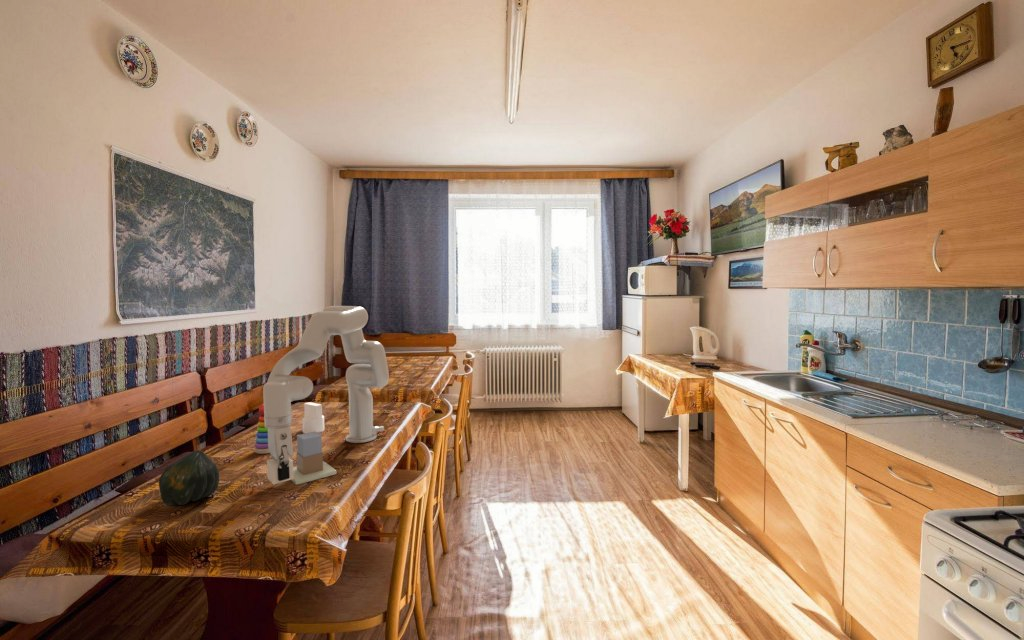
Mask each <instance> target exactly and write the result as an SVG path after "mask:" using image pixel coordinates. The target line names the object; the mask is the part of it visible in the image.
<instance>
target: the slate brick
mask: <svg viewBox="0 0 1024 640" xmlns="http://www.w3.org/2000/svg"><path fill="white" fill-rule="evenodd" d="M322 438H323V437H322V435H321V434H320V433H317V432H310V433H301V434H297V435H296V449H297V452H296V454H297V453H299V454H300V455H301V456H302V457H306V456H311V455H315V454H319V453H323V450H322V449H323V447H322V444H323V443H322V441H323V440H322Z"/></svg>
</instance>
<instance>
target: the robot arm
mask: <svg viewBox="0 0 1024 640" xmlns="http://www.w3.org/2000/svg"><path fill="white" fill-rule="evenodd" d="M368 320H369V314H368V311H367V309H365V308H364V307H362V306H357V305H330V306H326V307H324V309H323V310H322V311H316V312H314V313H313V314H312V315H311V317H310V319H309V320H308V322H307V324H306V327H305V330H304V331H303V334H302V336H301V338H300V340H299V342H298V344H297V346H295V347H294V348H293V349H291V350H290V351H288V352H287V353H286V354H285V355H283V356H282V357H281V358H280V359H279V360H278V361H277V362H276V363H275V364H274V366H273V368H272V370H271V372H270V374H269V377H268V379H267V381H266V383H264V385H263V387H262V393H263V394H262V395H263V397H262V398H263V404H264V421H265V428H268V449H269V452H270V453H269V454H270V455H271V456H270V459H274V458H276V459H278V466H279V468H278V480H279V481H282V480H285V479H289V478H290V476H289V457H293V456H294V449H293V448H294V447H293V438H292V437H293V436H292V430H291V425H292V403H291V402H293V401H299V400H304V399H306V398H308V397H309V396H310V395H312V392H313V390H314V383H313V381H312V380H311V379H310V378H309V377H307V376H303V375H291V373H292V372H293V371H294V370H295V369H297V368H298V367H300V366H302V365H304V364H307V363H309V362H312V361H314V360H316V359H319V358H321V356H322V355H323V354H324V351H325V349H326V347H327V345H328V342H329V339H331V338H330V337H331V336H337V335H338V336H340V339H341V343H342V348H343V352H344V356H345V359H346V361H347V362H348V363H350V364H351V365H350V366H348V368H347V369H346V371H345V381H346V385H347V390H348V425H349V426H348V430H349V432H348V434H347V435H345V442H348V443H352V444H360V443H368V442H371V441H374V440H375V439H377V438H378V435H377V433H378V432H381V431H384V430H385V427H384V426H383V425H380V426H379V425H375V426H374V414H373V413H374V411H373V410H374V408H373V407H374V405H373V404H374V402H373V401H374V399H373V397H374V396H373V394H372V391H371V390H370V388H372V389H373V388H377V389H378V388H379V389H380V388H384V387H385V386H387V385H388V383H389V379H390V374H389V373H390V371H389V366H388V360H387V355H386V354H387V353H386V351H385V350H386V349H385V347H384V345H383V344H382V343H381V342H379V341H378V340H377V341H376V340H366V339H365V337H364V332H363V328H364V327H365V326H366V325H367V324H368ZM282 456H283V457H282ZM280 457H282V458H280ZM282 459H283V461H282V462H281V460H282Z"/></svg>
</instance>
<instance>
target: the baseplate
mask: <svg viewBox="0 0 1024 640" xmlns="http://www.w3.org/2000/svg"><path fill="white" fill-rule="evenodd" d="M323 455H324V453H323V452H322V453H319V454H315V455H311V456H306V457H302V456H301V455H300V454H299V453H297V452H296V466H293V473H294V479H292V480H291V482H293V484H294V485H295V486H296V485H297V486H298V485H301V484H304V483H307V482H312V481H316V480H318V479H319V480H320V479H322V478H323V479H324V478H326V477H330V476H333V475H337V470H336V469H335V468H333V467H332V466H331V465H330V464H328V463H327V462H325V461H324V456H323Z"/></svg>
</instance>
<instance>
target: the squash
mask: <svg viewBox="0 0 1024 640" xmlns="http://www.w3.org/2000/svg"><path fill="white" fill-rule="evenodd" d="M207 455H208V454H207ZM207 455H206V453H205V452H204V451H203V450H201V449H199V450H195V451H194V450H193V451H191V452H189V453H187V454H185V455H184V456H182V457H181V458H179V459H177V460H176V461H174V462H173V463H171V464H170V465H168V466H167V467H165V469H164V470H163V471H162V473H161V475H160V477H159V479H158V490H159V493H160V498H161V500H162V502H163V503H164V504H165V505H167V506H170V507H171V506H177V505H180V506H184V505H187V504H188V503H189V502H190V501H192V502H195V501H198V500H200V499H203V498H206V497H208V496H211V495H213V494H214V493H215V492H216V490H218V487H219V484H220V472H219V469H218V466H217V465H216V464H215V462H213V460H212V459H210V457H209V456H207Z"/></svg>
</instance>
